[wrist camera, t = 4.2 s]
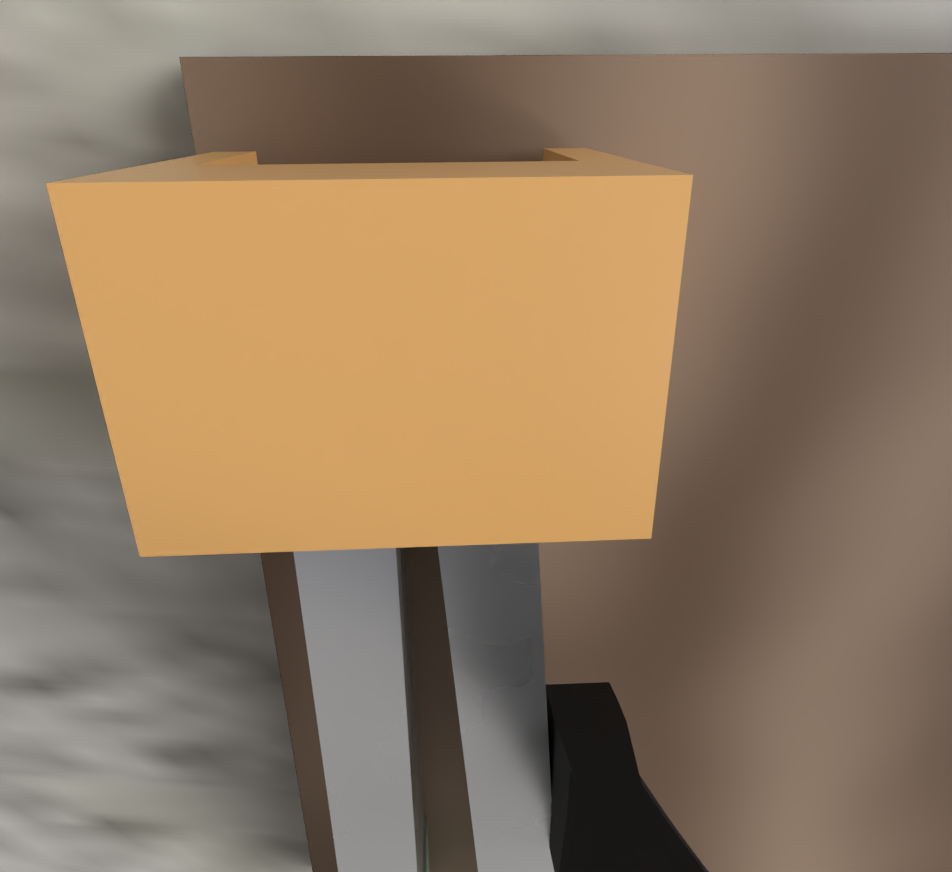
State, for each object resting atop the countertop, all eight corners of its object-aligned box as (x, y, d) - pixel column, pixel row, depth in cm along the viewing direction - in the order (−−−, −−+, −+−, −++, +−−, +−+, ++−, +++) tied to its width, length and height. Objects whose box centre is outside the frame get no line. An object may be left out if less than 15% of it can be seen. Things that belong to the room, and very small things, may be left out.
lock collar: (584, 147, 8) (692, 175, 5) (573, 382, 10) (650, 538, 6) (213, 151, 8) (45, 183, 5) (249, 390, 10) (140, 557, 6)
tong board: (1314, 56, 10) (1726, 32, 7) (973, 837, 16) (1097, 1004, 13) (205, 61, 9) (83, 36, 6) (327, 873, 16) (301, 1058, 13)
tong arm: (540, 452, 10) (562, 528, 8) (560, 889, 14) (579, 1001, 13) (436, 463, 10) (436, 540, 8) (487, 896, 14) (495, 1010, 13)
